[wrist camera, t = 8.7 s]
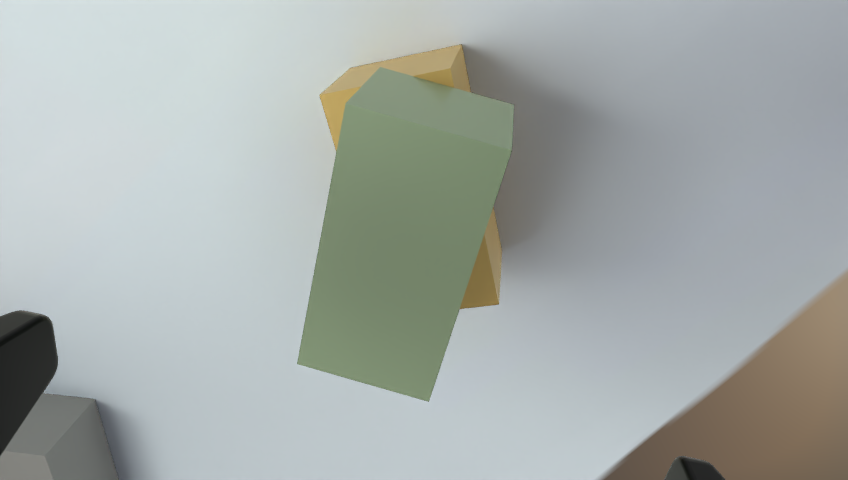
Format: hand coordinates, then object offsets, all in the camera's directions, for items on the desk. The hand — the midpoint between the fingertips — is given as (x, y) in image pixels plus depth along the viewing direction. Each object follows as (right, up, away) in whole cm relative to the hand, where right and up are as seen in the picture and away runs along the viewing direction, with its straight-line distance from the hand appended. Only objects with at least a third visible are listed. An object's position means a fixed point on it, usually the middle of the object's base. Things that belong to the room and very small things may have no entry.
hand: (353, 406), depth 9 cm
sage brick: (+1, +3, +6) cm, 7 cm away
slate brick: (-13, -6, +16) cm, 22 cm away
